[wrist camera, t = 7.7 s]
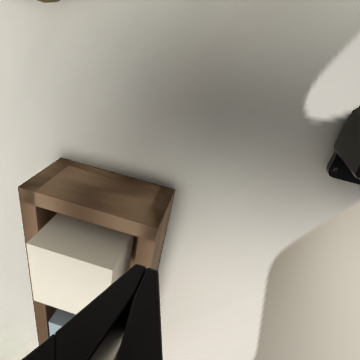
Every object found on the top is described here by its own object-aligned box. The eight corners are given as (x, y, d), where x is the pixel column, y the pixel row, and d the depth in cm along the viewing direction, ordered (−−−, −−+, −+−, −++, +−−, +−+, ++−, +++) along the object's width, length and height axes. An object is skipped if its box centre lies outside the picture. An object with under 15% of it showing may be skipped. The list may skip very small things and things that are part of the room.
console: (175, 190, 22) (157, 228, 18) (142, 339, 33) (127, 385, 29) (60, 157, 23) (18, 187, 19) (66, 314, 34) (40, 354, 30)
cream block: (134, 230, 21) (112, 270, 17) (127, 282, 24) (107, 325, 20) (61, 209, 21) (26, 243, 18) (63, 262, 24) (33, 300, 21)
